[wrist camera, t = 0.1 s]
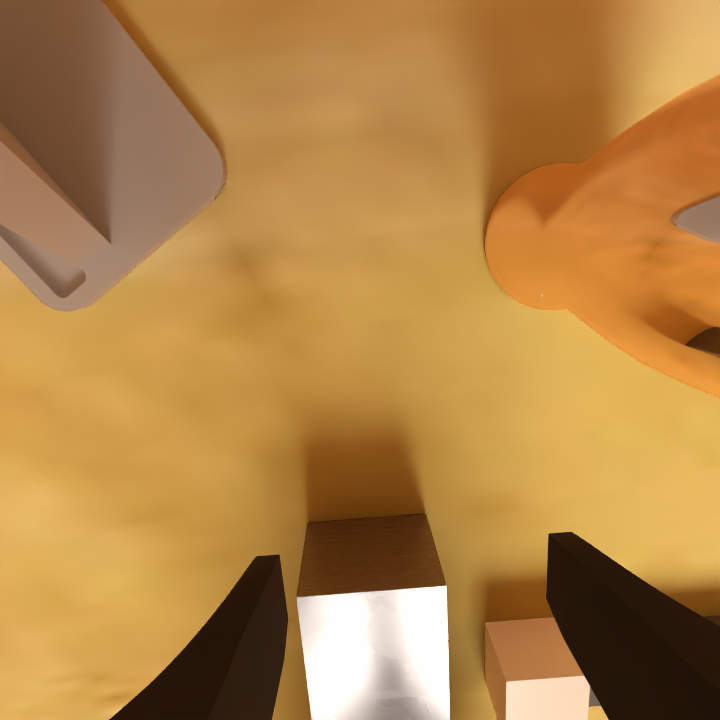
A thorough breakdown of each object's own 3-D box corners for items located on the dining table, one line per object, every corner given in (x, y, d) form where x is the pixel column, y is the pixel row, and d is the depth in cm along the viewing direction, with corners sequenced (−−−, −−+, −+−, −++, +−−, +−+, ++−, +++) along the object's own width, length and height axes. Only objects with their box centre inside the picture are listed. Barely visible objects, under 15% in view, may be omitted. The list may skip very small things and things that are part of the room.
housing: (436, 776, 28) (454, 890, 23) (337, 784, 28) (334, 899, 23) (425, 513, 23) (446, 585, 18) (307, 522, 23) (296, 597, 18)
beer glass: (468, 163, 19) (857, -91, 4) (635, 143, 19) (1574, -182, 4) (478, 327, 21) (778, 526, 6) (630, 309, 21) (1292, 466, 6)
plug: (729, 660, 26) (787, 723, 23) (484, 679, 26) (505, 745, 23) (739, 602, 25) (801, 658, 22) (484, 621, 25) (506, 681, 22)
